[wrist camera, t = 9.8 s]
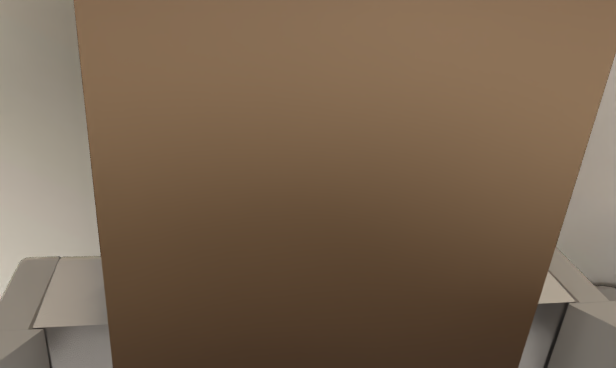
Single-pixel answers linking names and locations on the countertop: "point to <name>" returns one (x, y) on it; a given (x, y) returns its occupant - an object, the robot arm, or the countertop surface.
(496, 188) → the shelf board
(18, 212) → the countertop surface
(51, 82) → the countertop surface
